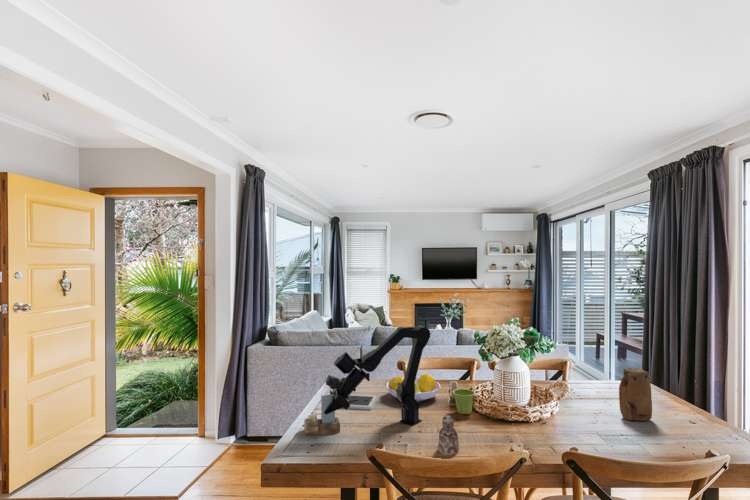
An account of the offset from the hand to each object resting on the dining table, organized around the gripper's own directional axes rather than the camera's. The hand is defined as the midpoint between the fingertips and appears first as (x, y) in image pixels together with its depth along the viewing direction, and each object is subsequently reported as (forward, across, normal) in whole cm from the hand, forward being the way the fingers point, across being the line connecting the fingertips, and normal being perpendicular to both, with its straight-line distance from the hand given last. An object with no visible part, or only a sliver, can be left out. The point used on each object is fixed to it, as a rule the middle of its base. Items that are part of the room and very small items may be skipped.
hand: (324, 412), depth 161 cm
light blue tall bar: (+4, 0, +6) cm, 7 cm away
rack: (+6, 0, +4) cm, 7 cm away
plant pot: (-38, -4, +48) cm, 62 cm away
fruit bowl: (-27, -29, +38) cm, 55 cm away
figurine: (-23, +28, +33) cm, 49 cm away
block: (-84, +21, +94) cm, 128 cm away
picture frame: (-6, -29, +17) cm, 34 cm away
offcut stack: (+8, 0, +1) cm, 8 cm away
